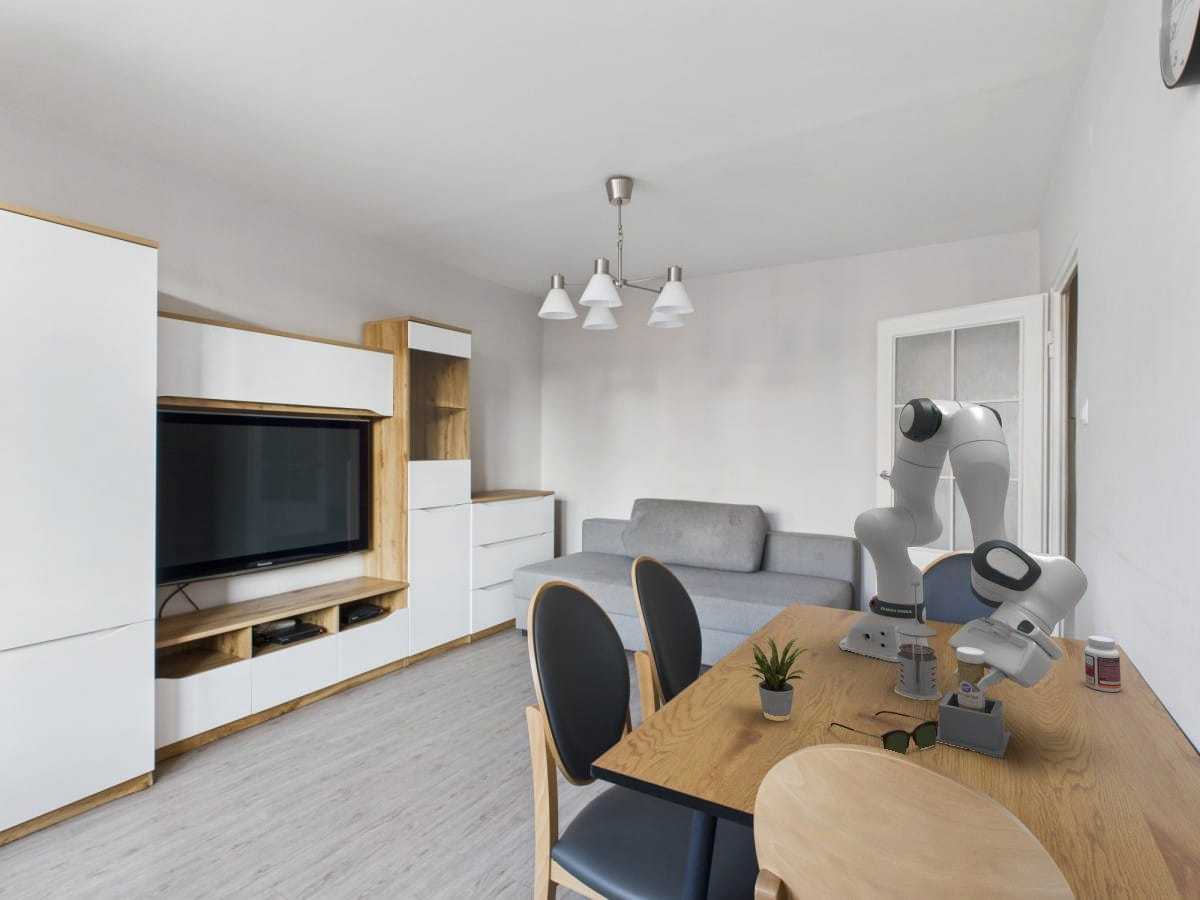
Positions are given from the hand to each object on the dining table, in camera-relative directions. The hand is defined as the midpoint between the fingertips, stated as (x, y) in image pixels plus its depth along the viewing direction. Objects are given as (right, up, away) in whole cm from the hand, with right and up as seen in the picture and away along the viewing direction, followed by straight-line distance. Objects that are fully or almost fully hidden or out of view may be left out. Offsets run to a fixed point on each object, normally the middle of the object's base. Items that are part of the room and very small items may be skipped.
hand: (967, 683), depth 117 cm
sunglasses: (-16, -11, +2) cm, 19 cm away
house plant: (-31, -11, +11) cm, 35 cm away
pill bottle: (+44, -10, +24) cm, 51 cm away
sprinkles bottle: (+1, -7, 0) cm, 7 cm away
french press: (+2, -11, +22) cm, 25 cm away
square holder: (+1, -10, 0) cm, 10 cm away
